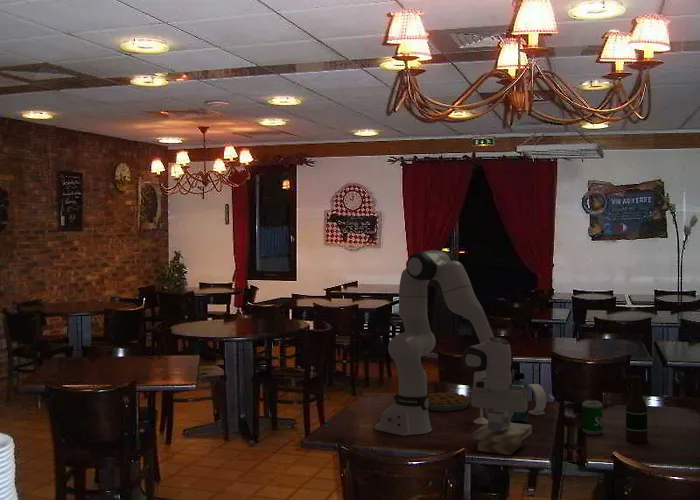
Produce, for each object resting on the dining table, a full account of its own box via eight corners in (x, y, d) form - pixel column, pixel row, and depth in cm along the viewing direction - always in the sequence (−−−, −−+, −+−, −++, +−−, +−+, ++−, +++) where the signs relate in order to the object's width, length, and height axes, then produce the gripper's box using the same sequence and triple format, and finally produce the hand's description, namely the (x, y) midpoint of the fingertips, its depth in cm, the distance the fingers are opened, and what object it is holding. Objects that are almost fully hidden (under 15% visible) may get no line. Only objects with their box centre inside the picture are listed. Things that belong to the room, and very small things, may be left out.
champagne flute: (470, 422, 318) (470, 363, 317) (476, 419, 324) (475, 361, 323) (487, 424, 315) (486, 364, 314) (492, 420, 321) (491, 362, 320)
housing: (496, 423, 287) (496, 407, 287) (510, 425, 285) (510, 409, 284) (488, 429, 279) (488, 412, 279) (501, 431, 277) (501, 414, 277)
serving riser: (470, 451, 279) (470, 434, 279) (486, 439, 293) (486, 423, 293) (514, 457, 271) (513, 439, 271) (528, 445, 285) (528, 429, 285)
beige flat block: (486, 435, 299) (485, 428, 298) (496, 428, 309) (496, 420, 309) (522, 440, 292) (521, 432, 291) (531, 432, 302) (531, 425, 302)
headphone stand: (537, 411, 335) (536, 383, 335) (546, 414, 330) (546, 386, 329) (528, 412, 333) (528, 384, 333) (537, 416, 328) (537, 387, 327)
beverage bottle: (528, 424, 314) (528, 374, 313) (511, 424, 315) (511, 374, 314) (528, 420, 320) (527, 371, 319) (511, 420, 322) (511, 371, 321)
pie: (410, 404, 352) (410, 393, 352) (452, 399, 362) (452, 388, 362) (436, 415, 333) (436, 403, 332) (479, 409, 342) (479, 397, 342)
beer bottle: (629, 436, 295) (629, 372, 294) (650, 440, 290) (650, 375, 289) (622, 441, 289) (621, 376, 288) (643, 444, 284) (643, 378, 283)
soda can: (589, 436, 296) (589, 404, 296) (578, 431, 303) (578, 400, 303) (606, 434, 298) (606, 403, 298) (595, 429, 305) (595, 398, 305)
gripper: (530, 384, 279) (530, 423, 280) (475, 379, 289) (475, 416, 290) (524, 387, 274) (524, 427, 274) (469, 382, 284) (469, 420, 284)
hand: (499, 421), depth 282 cm, fingers closed on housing, 5 cm apart
